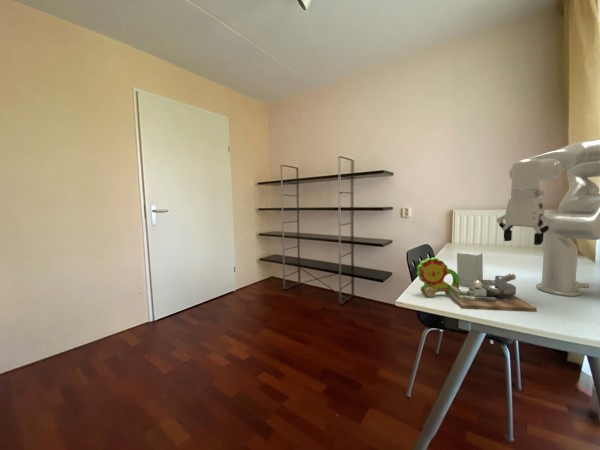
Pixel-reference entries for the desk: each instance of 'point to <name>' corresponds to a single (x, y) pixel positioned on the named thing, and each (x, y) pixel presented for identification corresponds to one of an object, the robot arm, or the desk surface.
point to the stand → (488, 301)
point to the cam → (500, 286)
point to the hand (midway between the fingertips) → (522, 242)
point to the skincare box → (469, 267)
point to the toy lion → (435, 276)
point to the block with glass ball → (477, 289)
